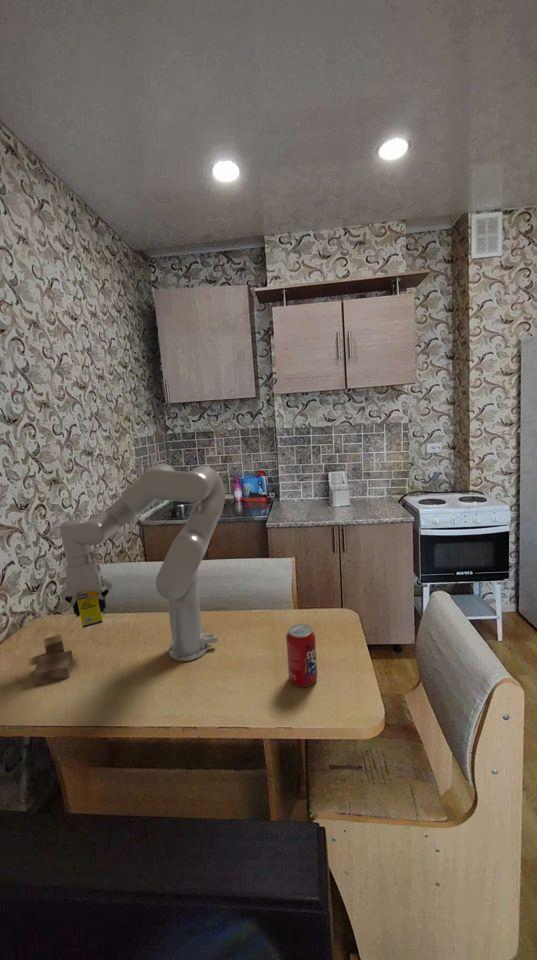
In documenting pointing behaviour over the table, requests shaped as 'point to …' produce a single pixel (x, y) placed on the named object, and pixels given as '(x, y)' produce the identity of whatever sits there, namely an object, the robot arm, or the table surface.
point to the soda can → (301, 655)
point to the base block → (53, 668)
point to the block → (53, 645)
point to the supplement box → (89, 608)
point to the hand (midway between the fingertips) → (90, 612)
